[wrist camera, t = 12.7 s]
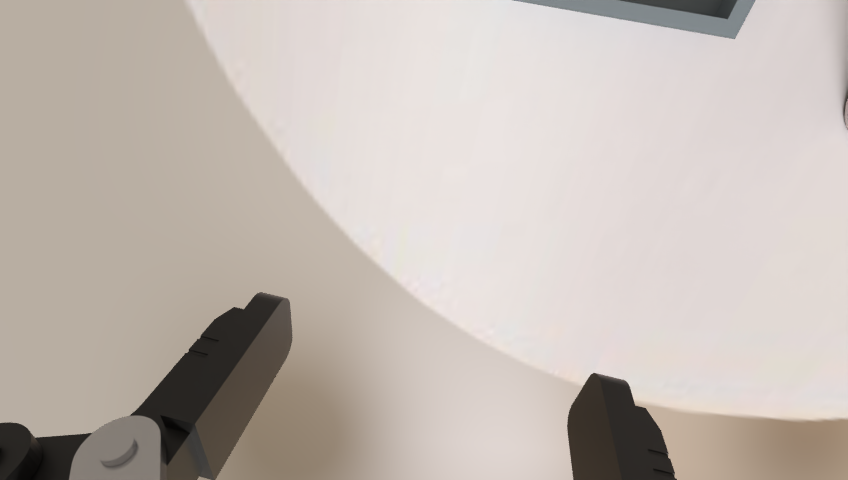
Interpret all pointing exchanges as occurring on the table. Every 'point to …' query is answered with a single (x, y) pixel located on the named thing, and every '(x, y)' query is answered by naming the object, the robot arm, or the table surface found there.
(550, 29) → the table surface
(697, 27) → the tray
